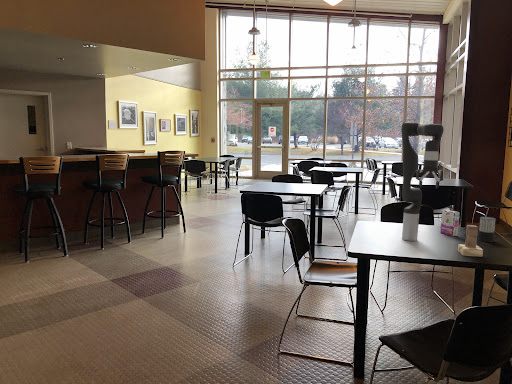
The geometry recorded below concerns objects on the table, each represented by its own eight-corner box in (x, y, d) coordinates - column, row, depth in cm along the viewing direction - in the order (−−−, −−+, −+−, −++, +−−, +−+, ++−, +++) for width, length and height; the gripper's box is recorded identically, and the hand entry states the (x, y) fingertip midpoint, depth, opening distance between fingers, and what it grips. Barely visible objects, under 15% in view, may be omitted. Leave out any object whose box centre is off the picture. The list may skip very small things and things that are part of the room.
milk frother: (496, 242, 265) (499, 219, 264) (472, 241, 265) (474, 218, 264) (484, 237, 280) (486, 215, 278) (461, 236, 280) (463, 214, 278)
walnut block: (464, 245, 237) (466, 224, 235) (473, 246, 236) (475, 225, 235) (467, 247, 232) (469, 226, 231) (476, 248, 232) (478, 227, 230)
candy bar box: (458, 236, 281) (460, 212, 279) (452, 236, 279) (454, 212, 277) (445, 232, 291) (447, 209, 289) (439, 232, 289) (441, 209, 287)
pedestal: (457, 250, 241) (458, 244, 240) (476, 252, 239) (477, 245, 238) (462, 255, 231) (463, 248, 230) (482, 256, 229) (483, 249, 228)
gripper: (442, 159, 238) (440, 187, 240) (416, 158, 241) (414, 186, 243) (446, 160, 231) (443, 189, 233) (419, 159, 233) (416, 187, 235)
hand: (428, 187), depth 238 cm, fingers open, 8 cm apart
